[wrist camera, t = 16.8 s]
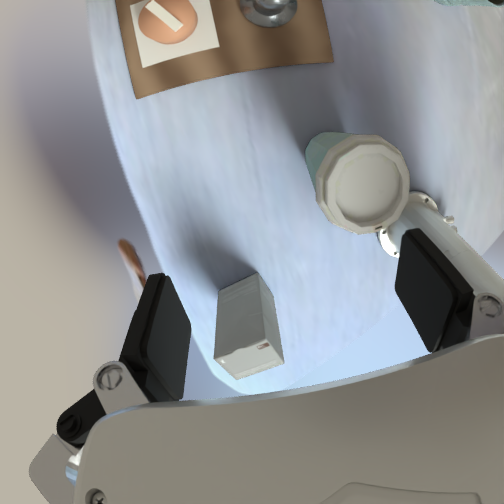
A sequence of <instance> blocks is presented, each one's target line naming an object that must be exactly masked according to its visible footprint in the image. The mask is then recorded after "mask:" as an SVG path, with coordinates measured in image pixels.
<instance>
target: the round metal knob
mask: <svg viewBox="0 0 504 504" xmlns="http://www.w3.org/2000/svg"><path fill="white" fill-rule="evenodd" d="M240 9H241V12H242V14H243V16H244V17H245V18H246V19H247V20H248V21H249V22H251V23H252V24H254V25H257V26H260V27H264V28H275V27H279V26H282V25H284V24H286V23H288V22H289V21H290V20H291V19H292V18H293V16H294V15H295V13H296V11H297V0H240Z"/></svg>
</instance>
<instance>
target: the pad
mask: <svg viewBox="0 0 504 504" xmlns="http://www.w3.org/2000/svg"><path fill="white" fill-rule="evenodd" d="M149 1H150V0H144V1H141V2H138V3H136V4H133V5H130V9H131V14H132V20H133V25H134V30H135V35H136V40H137V44H138V49H139V54H140V58H141V63H142V67H143V68H145V67H147V66H150V65H153V64H156V63H160V62H163V61H166V60H169V59H173V58H176V57H180V56H183V55H187V54H191V53H195V52H199V51H203V50H207V49H211V48H216V47H219V42H218V38H217V33H216V28H215V24H214V19H213V15H212V10H211V6H210V1H209V0H189V2H190V3H191V5H192V6H193V8H194V9H195V11H196V13H197V17H198V22H197V26H196V28H195V30H194V32H193V33H192V34H191V35H190V36H189V37H188V38H187V39H185V40H184V41H182V42H179V43H176V44H168V45H167V44H161V43H159V42H156V41H154V40H152V39H150V38H148V37H146V36H145V35H144V34H143V33H142V32H141V31H140V28H139V25H138V18H139V14H140V12H141V10H142V8H143V7H144V6H145V4H146V3H147V2H149Z"/></svg>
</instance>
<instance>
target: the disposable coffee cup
mask: <svg viewBox="0 0 504 504" xmlns="http://www.w3.org/2000/svg"><path fill="white" fill-rule="evenodd" d="M305 156H306V165H307V168H308V171H309V174H310V177H311V180H312V183H313V186H314V189H315V192H316V202H317V203H318V205H319V206H320V208H321V209H322V211H323V213H324V214H325V216H326V217H327V219H328V220H329V221H330V222H331V223H332V224H334V225H336V226H339V227H341V228H343V229H345V230H348V231H350V232H352V233H356V234H358V235H359V234H367V233H375V232H378V231H380V230H383V229H384V228H386V227H388V226H389V225H391V224H392V223H393V222H395V221H396V220H398V218H399V216H400V214H401V213H402V211H403V209H404V207H405V205H406V204H407V202H408V200H409V185H410V176H409V171H408V168H407V166H406V163H405V161H404V159H403V156H402V154H401V152H400V151H399V150H398V149H397V148H396V147H395V146H393V145H392V144H390V143H389V142H387V141H386V140H384V139H383V138H381V137H380V136H378V135H359V134H350V133H341V132H321V133H320V134H318V135H317V136H315V137H314V138H312V139H311V140H310V142H309V144H308V146H307V148H306V150H305Z"/></svg>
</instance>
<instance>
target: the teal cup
mask: <svg viewBox="0 0 504 504" xmlns="http://www.w3.org/2000/svg"><path fill="white" fill-rule="evenodd" d="M434 1H436V2H437V3H439V4H442V5H445V6H459V5H474V6H475V5H478V6H480V5H481V6H492V7H503V6H504V0H434Z"/></svg>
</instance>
